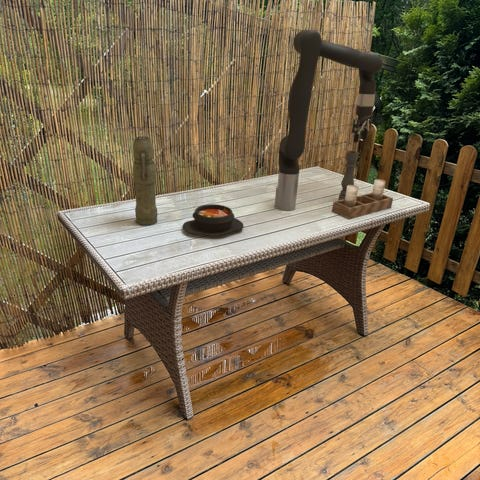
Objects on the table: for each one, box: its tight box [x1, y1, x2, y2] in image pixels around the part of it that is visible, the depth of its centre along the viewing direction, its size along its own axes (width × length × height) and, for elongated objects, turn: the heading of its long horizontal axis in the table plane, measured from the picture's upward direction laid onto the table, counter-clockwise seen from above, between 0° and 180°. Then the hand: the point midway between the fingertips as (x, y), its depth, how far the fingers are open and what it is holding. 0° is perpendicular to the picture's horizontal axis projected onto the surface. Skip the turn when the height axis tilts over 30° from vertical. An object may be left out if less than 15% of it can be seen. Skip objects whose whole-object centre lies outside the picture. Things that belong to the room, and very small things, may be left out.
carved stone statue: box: [132, 136, 158, 227], centre depth 170 cm, size 9×12×35 cm
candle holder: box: [338, 150, 360, 200], centre depth 205 cm, size 6×6×25 cm
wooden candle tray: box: [331, 178, 394, 220], centre depth 199 cm, size 30×10×13 cm, turn 124°
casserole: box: [182, 203, 244, 236], centre depth 172 cm, size 25×19×8 cm
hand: (360, 140), depth 196 cm, fingers open, 8 cm apart
